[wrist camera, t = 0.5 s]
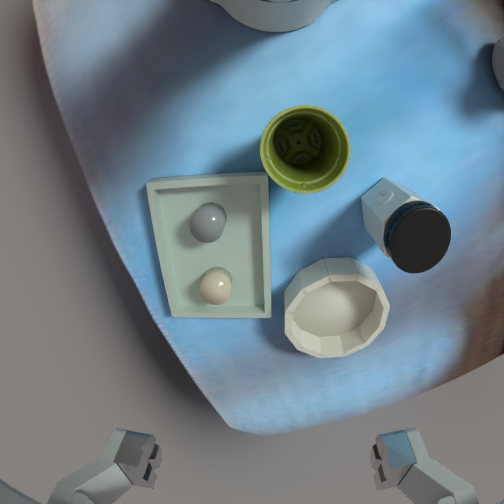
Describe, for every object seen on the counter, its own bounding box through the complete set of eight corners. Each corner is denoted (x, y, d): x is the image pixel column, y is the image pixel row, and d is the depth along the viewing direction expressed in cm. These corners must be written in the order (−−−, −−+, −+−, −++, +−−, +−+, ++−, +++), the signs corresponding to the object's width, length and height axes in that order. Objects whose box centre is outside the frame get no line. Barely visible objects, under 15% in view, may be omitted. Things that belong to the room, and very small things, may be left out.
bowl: (284, 258, 45) (285, 276, 41) (386, 256, 44) (397, 272, 40) (283, 339, 52) (284, 359, 48) (370, 334, 51) (377, 353, 47)
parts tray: (152, 178, 40) (145, 183, 38) (267, 171, 39) (267, 175, 37) (175, 307, 50) (172, 317, 48) (271, 308, 49) (271, 317, 47)
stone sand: (202, 266, 46) (197, 279, 42) (231, 266, 45) (228, 279, 42) (205, 291, 48) (201, 305, 44) (233, 291, 47) (231, 305, 44)
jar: (394, 165, 38) (435, 189, 27) (421, 207, 40) (463, 242, 30) (347, 205, 41) (373, 242, 30) (378, 244, 43) (407, 288, 33)
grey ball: (193, 203, 41) (187, 211, 38) (225, 201, 41) (221, 210, 38) (197, 232, 43) (191, 243, 40) (228, 231, 43) (224, 242, 40)
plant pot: (252, 116, 36) (248, 119, 28) (323, 98, 35) (338, 96, 27) (272, 183, 40) (274, 203, 32) (340, 166, 38) (358, 182, 31)
